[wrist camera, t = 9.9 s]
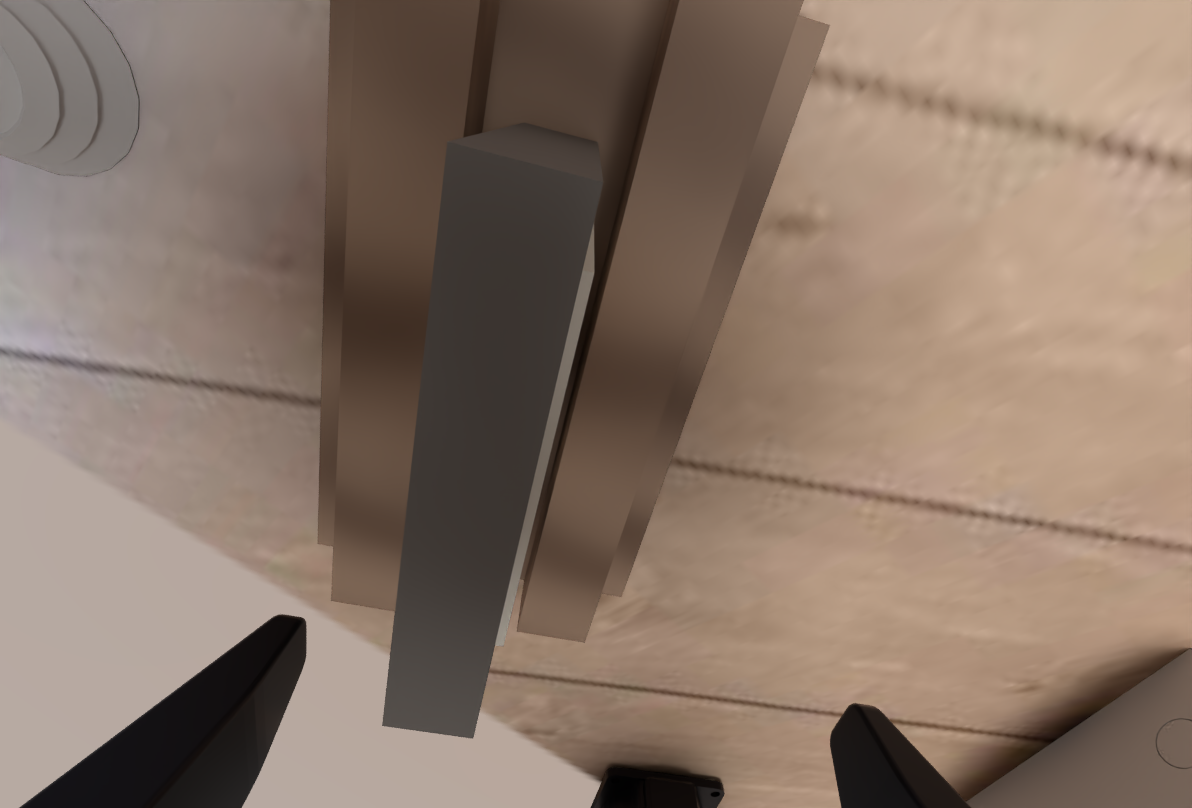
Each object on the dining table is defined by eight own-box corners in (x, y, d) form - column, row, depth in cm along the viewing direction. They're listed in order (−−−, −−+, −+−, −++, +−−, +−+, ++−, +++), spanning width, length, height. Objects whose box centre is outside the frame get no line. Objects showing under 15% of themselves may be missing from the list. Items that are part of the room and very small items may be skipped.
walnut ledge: (620, 579, 24) (624, 649, 21) (328, 526, 23) (286, 593, 19) (815, 30, 15) (873, 10, 12) (350, -113, 14) (278, -178, 10)
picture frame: (606, 144, 15) (621, 187, 7) (525, 495, 21) (484, 740, 13) (515, 119, 15) (427, 136, 7) (457, 482, 20) (370, 724, 12)
